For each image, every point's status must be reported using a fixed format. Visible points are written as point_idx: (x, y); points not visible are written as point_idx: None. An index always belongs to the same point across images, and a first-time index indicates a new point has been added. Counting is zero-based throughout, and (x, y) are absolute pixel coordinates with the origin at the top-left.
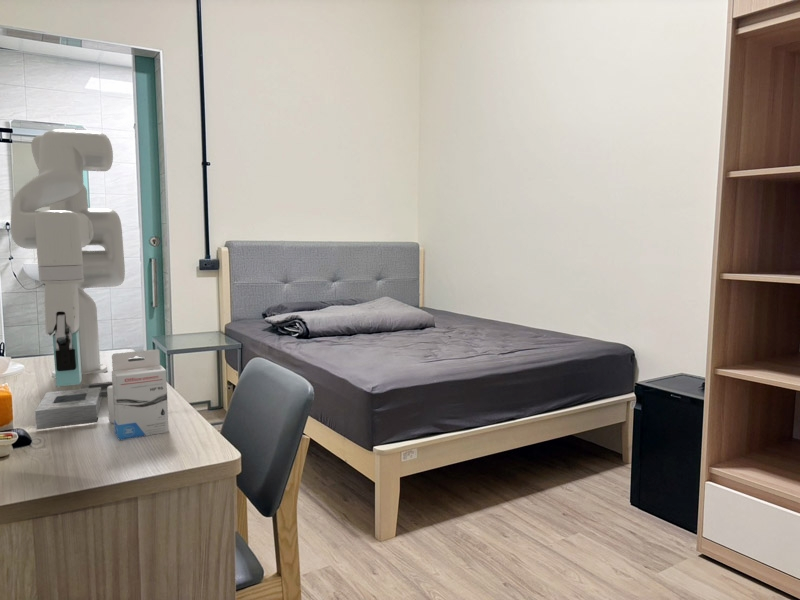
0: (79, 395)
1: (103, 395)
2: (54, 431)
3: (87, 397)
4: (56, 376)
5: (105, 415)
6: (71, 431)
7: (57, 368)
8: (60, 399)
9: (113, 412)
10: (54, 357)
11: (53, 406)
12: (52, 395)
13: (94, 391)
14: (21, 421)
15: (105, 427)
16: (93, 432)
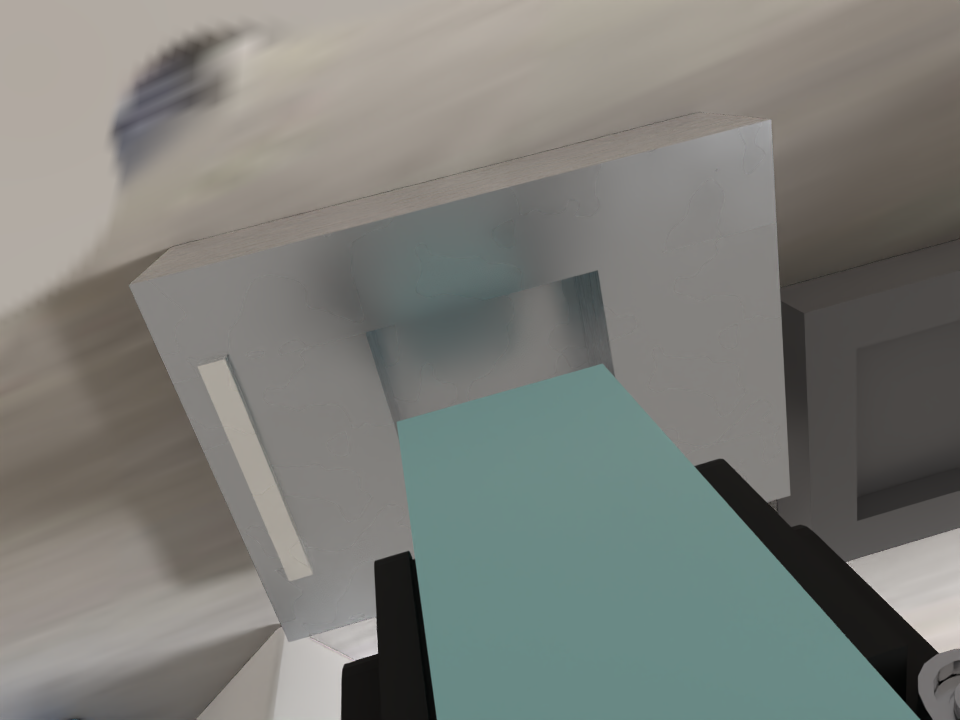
0: None
1: (794, 448)
2: (126, 384)
3: None
4: (405, 484)
5: None
6: (123, 485)
7: (377, 581)
8: (594, 285)
9: (236, 715)
10: (430, 656)
11: (231, 394)
12: (635, 222)
13: None
14: (396, 33)
15: (195, 632)
16: (100, 608)
